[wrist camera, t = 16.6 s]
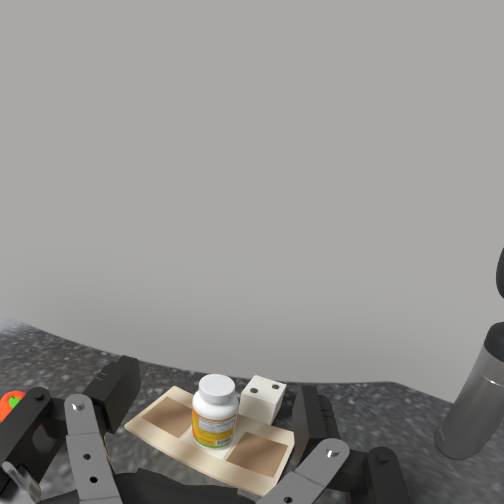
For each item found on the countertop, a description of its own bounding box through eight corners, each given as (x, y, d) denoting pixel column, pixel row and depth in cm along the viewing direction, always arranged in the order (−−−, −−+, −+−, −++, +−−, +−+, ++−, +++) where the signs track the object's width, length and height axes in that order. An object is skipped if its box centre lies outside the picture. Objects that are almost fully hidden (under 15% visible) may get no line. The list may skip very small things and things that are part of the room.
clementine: (65, 449, 21) (47, 412, 19) (24, 465, 15) (0, 428, 13) (40, 411, 25) (26, 374, 23) (4, 424, 19) (-15, 385, 17)
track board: (297, 436, 32) (298, 433, 32) (269, 498, 21) (270, 496, 21) (174, 388, 39) (174, 385, 39) (124, 428, 28) (124, 424, 28)
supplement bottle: (200, 418, 33) (202, 365, 31) (237, 428, 32) (246, 376, 30) (186, 443, 28) (185, 390, 26) (227, 455, 27) (234, 404, 25)
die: (280, 407, 38) (286, 384, 37) (269, 427, 34) (276, 404, 33) (250, 398, 40) (255, 374, 39) (237, 416, 35) (241, 392, 34)
